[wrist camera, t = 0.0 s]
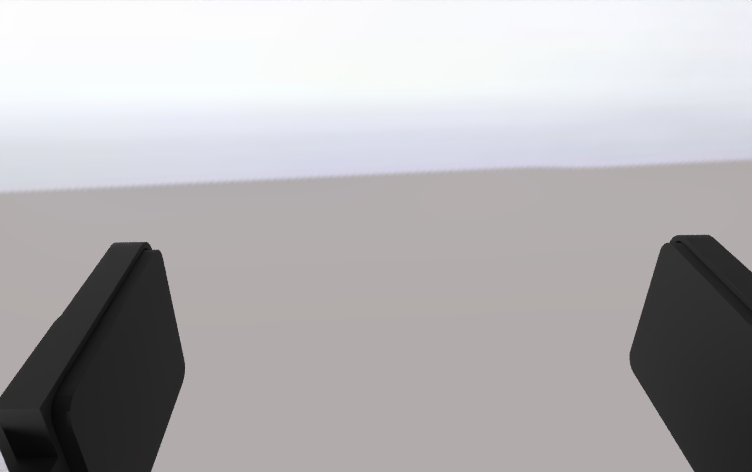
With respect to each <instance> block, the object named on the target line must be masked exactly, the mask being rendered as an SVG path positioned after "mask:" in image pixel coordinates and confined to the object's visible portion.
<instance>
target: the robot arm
mask: <svg viewBox="0 0 752 472" xmlns="http://www.w3.org/2000/svg"><path fill="white" fill-rule="evenodd" d="M630 365H631V368H632V370H633V372H634V374H635V376H636V377H637V379H638V380H639V382H640V384H641V386H642V387H643V389H644V390H645V392H646V394H647V395H648V397H649V398H650V400H651V402H652V403H653V405H654V407H655V408H656V410H657V411H658V413H659V415H660V416H661V418H662V420H663V421H664V423H665V425H666V426H667V428H668V430H669V431H670V432H671V434H672V436H673V438H674V439H675V441H676V443H677V444H678V446H679V447H680V449H681V450H682V452H683V454H684V456H685V457H686V459H687V460H688V462H689V464H690V465H691V467H692V469H693V470H694V472H752V272H751V271H750V270H748V269H747V268H746V267H745V266H744V265H743V264H742V263H741V262H740V261H739V260H738V259H736V258H735V257H734V256H733V255H732V254H731V253H730V252H729V251H727V250H726V249H725V248H724V247H723V246H722V245H721V244H720V243H719V242H718V241H716V240H715V239H714V238H713V237H711V236H710V235H677V236H675V237H673V238H672V240H671V241H670V243H666V244H664V245H663V246H662V248H661V250H660V254H659V257H658V260H657V263H656V267H655V270H654V273H653V277H652V280H651V284H650V287H649V290H648V294H647V297H646V300H645V304H644V307H643V310H642V314H641V317H640V320H639V324H638V327H637V330H636V334H635V337H634V341H633V344H632V347H631V351H630ZM184 374H185V363H184V357H183V353H182V348H181V343H180V338H179V333H178V328H177V323H176V319H175V314H174V309H173V304H172V300H171V295H170V291H169V286H168V281H167V276H166V271H165V267H164V262H163V258H162V254H161V252H160V251H159V250H152V248H151V246H150V245H149V243H147V242H129V243H128V242H127V243H126V242H125V243H124V242H123V243H113V244H112V245H111V247H110V248H109V249H108V251H107V252H106V253H105V255H104V256H103V258H102V259H101V260H100V262H99V263H98V265H97V266H96V267H95V269H94V270H93V272H92V273H91V274H90V276H89V277H88V279H87V280H86V282H85V283H84V284H83V286H82V287H81V288H80V290H79V291H78V293H77V294H76V295H75V297H74V298H73V300H72V301H71V303H70V304H69V305H68V307H67V308H66V309H65V311H64V312H63V314H62V315H61V316H60V317H59V318H58V319H57V320H56V321H55V322H54V323H53V325H52V326H51V327H50V329H49V330H48V331H47V333H46V334H45V336H44V337H43V338H42V340H41V341H40V343H39V344H38V345H37V347H36V348H35V349H34V351H33V352H32V354H31V355H30V357H29V358H28V359H27V361H26V362H25V364H24V365H23V366H22V368H21V369H20V370H19V372H18V373H17V374H16V376H15V377H14V379H13V380H12V381H11V383H10V384H9V386H8V387H7V388H6V390H5V391H4V393H3V394H2V395H1V397H0V472H151V470H152V467H153V464H154V462H155V459H156V456H157V453H158V450H159V447H160V444H161V442H162V439H163V436H164V434H165V431H166V428H167V425H168V422H169V419H170V417H171V414H172V411H173V408H174V405H175V403H176V400H177V397H178V394H179V391H180V389H181V386H182V383H183V379H184Z"/></svg>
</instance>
